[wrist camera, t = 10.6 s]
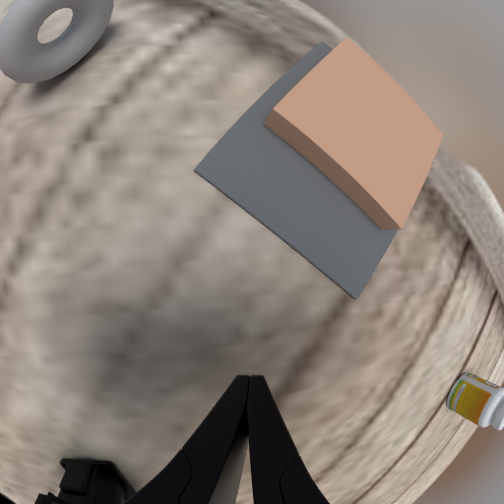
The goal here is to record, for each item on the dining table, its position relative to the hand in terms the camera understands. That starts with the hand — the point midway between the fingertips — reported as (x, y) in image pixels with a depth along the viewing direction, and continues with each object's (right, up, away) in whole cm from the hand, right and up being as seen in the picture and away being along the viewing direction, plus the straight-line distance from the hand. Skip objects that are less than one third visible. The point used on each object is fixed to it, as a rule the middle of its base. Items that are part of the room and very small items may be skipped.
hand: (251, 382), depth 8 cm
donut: (-15, +21, +7) cm, 26 cm away
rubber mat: (+7, +12, +11) cm, 18 cm away
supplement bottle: (+27, -14, +17) cm, 35 cm away
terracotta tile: (+6, +10, +9) cm, 15 cm away
